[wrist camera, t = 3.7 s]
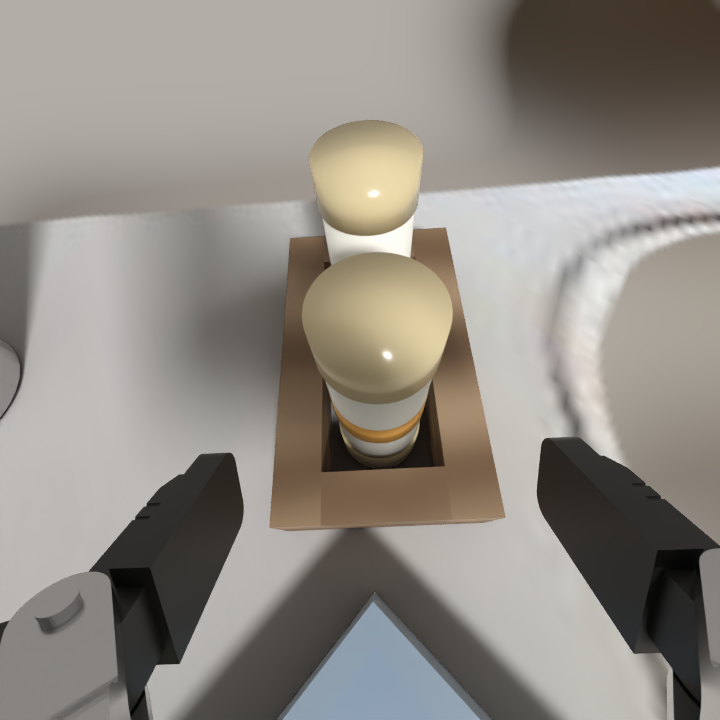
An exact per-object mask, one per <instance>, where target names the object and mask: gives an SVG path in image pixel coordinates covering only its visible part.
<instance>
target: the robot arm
mask: <svg viewBox="0 0 720 720" xmlns="http://www.w3.org/2000/svg"><path fill="white" fill-rule="evenodd" d="M19 378H20V363H19V360H18V356H17V354H16V353H15V351H14V350H13V349H12V347H11V346H9V345H8V344H7V343H5V342H4V341H2V340H0V417H1V416H2V414H3V413H4V412H5V410H6V409H7V407H8V406H9V404H10V402H11V400H12V398H13V396H14V394H15V392H16V389H17V385H18V382H19ZM537 499H538V504H539V507H540V510H541V512H542V515H543V516H544V518H545V520H546V521H547V523H548V524H549V526H550V527H551V529H552V530H553V532H554V533H555V535H556V536H557V538H558V539H559V541H560V542H561V544H562V545H563V547H564V548H565V550H566V551H567V553H568V554H569V556H570V558H571V559H572V561H573V562H574V564H575V565H576V567H577V568H578V570H579V571H580V573H581V574H582V576H583V577H584V579H585V580H586V582H587V583H588V585H589V586H590V588H591V589H592V591H593V592H594V594H595V595H596V597H597V599H598V600H599V602H600V603H601V605H602V606H603V608H604V609H605V611H606V612H607V614H608V615H609V617H610V618H611V620H612V621H613V623H614V624H615V626H616V627H617V629H618V630H619V632H620V633H621V635H622V637H623V638H624V640H625V641H626V643H627V644H628V646H629V647H630V649H631V650H632V652H633V653H634V654H638V653H661V654H662V655H663V656H664V658H665V659H666V661H667V662H668V663H669V665H670V667H669V671H668V675H667V720H720V546H719V545H718V544H717V543H716V542H715V541H713V540H712V539H711V538H710V537H709V536H708V535H706V534H705V533H704V532H703V531H701V530H700V529H699V528H698V527H697V526H696V525H694V524H693V523H692V522H691V521H690V520H689V519H687V518H686V517H685V516H684V515H683V514H681V513H680V512H679V511H678V510H677V509H675V508H674V507H673V506H672V505H671V504H670V503H668V502H667V501H666V500H665V499H661V497H660V495H659V494H658V493H657V492H655V491H654V490H653V489H652V488H651V487H650V486H646V485H645V482H644V481H642V480H641V479H640V478H639V477H638V476H637V475H635V474H634V473H633V472H632V471H631V470H629V469H628V468H627V467H625V466H623V465H621V464H619V463H617V462H615V461H613V460H611V459H609V458H607V457H605V456H600V455H599V454H598V453H596V452H595V451H594V450H593V449H592V448H591V447H590V446H589V445H588V444H586V443H585V442H584V441H583V440H582V439H581V438H579V437H561V438H546V439H544V440H543V442H542V445H541V453H540V463H539V473H538V484H537ZM243 511H244V506H243V498H242V493H241V488H240V483H239V478H238V472H237V467H236V462H235V458H234V456H233V454H232V453H213V454H201V455H199V456H198V457H197V459H196V460H195V461H194V462H193V464H192V465H191V466H190V467H189V469H188V470H187V471H186V472H185V474H182V475H178V476H176V477H175V478H174V479H172V480H171V481H169V482H168V483H166V484H165V485H164V486H162V487H161V488H160V489H159V490H158V491H157V492H156V493H155V494H154V496H153V497H152V498H151V499H150V500H149V501H148V503H147V506H146V507H143V508H142V510H141V511H140V512H139V513H138V514H137V515H136V517H135V520H132V521H131V523H130V524H129V525H128V526H127V527H126V528H125V530H124V531H123V532H122V533H121V534H120V535H119V537H118V538H117V539H116V540H115V541H114V542H113V544H112V545H111V546H110V547H109V548H108V549H107V551H106V552H105V553H104V554H103V555H102V556H101V558H100V559H99V560H98V561H97V562H96V564H95V565H94V566H93V567H92V568H91V569H90V571H89V572H84V573H79V574H76V575H72V576H70V577H67V578H65V579H62V580H60V581H58V582H56V583H54V584H52V585H51V586H49V587H47V588H45V589H44V590H42V591H41V592H39V593H38V594H36V595H35V596H34V597H33V598H31V599H30V600H29V601H28V602H27V603H25V604H24V605H23V606H22V607H21V608H20V609H19V610H18V611H17V612H16V614H15V615H14V616H13V617H12V619H11V620H10V621H6V622H3V623H0V720H153V714H152V707H151V700H150V693H149V690H148V686H147V682H148V680H149V678H150V676H151V674H152V672H153V670H154V668H155V666H156V665H161V664H180V662H181V659H182V657H183V655H184V653H185V650H186V648H187V646H188V644H189V642H190V639H191V637H192V635H193V633H194V630H195V628H196V626H197V624H198V621H199V619H200V617H201V615H202V612H203V610H204V608H205V606H206V604H207V601H208V599H209V597H210V595H211V592H212V590H213V588H214V586H215V583H216V581H217V579H218V577H219V574H220V572H221V570H222V568H223V565H224V563H225V561H226V559H227V557H228V554H229V552H230V550H231V548H232V545H233V543H234V541H235V539H236V536H237V534H238V532H239V530H240V527H241V524H242V520H243Z"/></svg>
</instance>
